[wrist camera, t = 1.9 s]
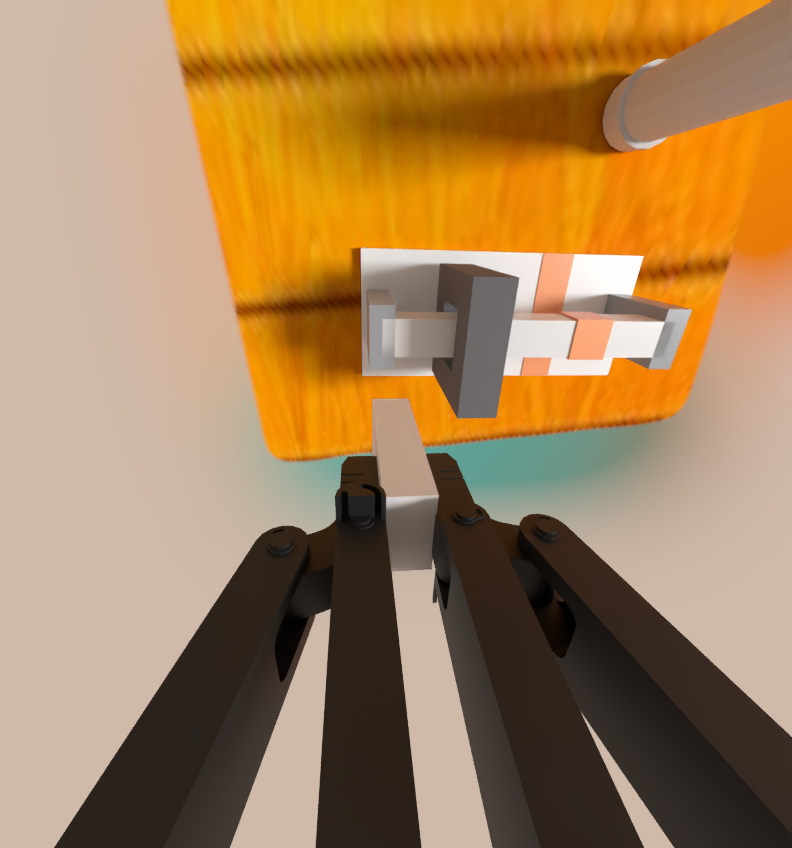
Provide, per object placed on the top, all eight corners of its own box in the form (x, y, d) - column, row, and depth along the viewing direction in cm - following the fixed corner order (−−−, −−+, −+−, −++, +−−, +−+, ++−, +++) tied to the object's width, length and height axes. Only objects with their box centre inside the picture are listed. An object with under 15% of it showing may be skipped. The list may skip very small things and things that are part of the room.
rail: (360, 247, 34) (362, 253, 26) (637, 255, 37) (717, 262, 29) (362, 373, 40) (363, 409, 32) (603, 372, 42) (662, 406, 34)
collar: (439, 263, 34) (473, 276, 24) (472, 264, 34) (519, 277, 24) (431, 370, 38) (457, 418, 28) (460, 370, 38) (496, 417, 29)
